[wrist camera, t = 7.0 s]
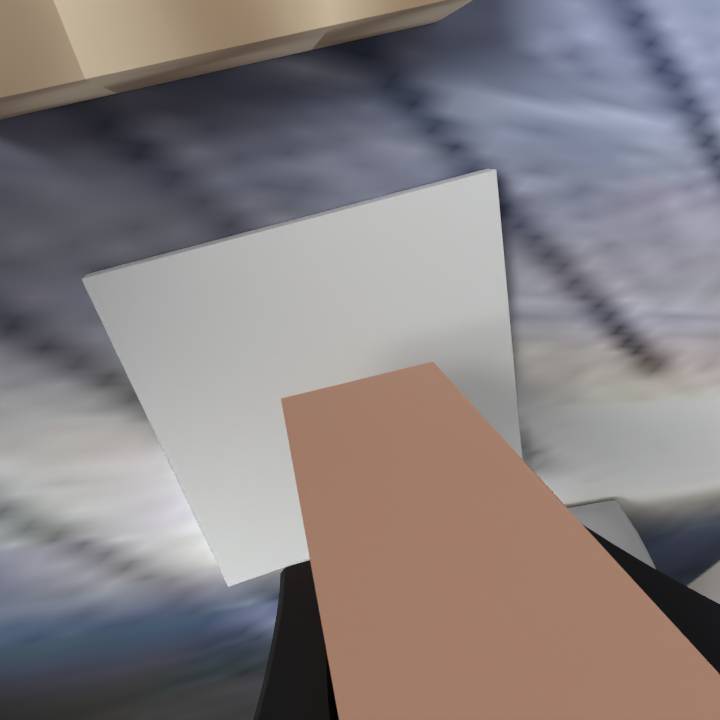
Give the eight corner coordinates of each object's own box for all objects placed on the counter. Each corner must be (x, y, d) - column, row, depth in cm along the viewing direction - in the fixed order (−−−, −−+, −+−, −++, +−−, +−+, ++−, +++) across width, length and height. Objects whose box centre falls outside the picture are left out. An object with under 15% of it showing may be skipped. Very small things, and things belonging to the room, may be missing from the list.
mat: (228, 574, 19) (228, 586, 18) (87, 273, 14) (81, 279, 13) (517, 475, 20) (524, 484, 20) (487, 168, 15) (496, 169, 15)
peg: (311, 521, 14) (413, 1023, 6) (280, 398, 12) (365, 868, 4) (444, 483, 15) (702, 897, 7) (432, 361, 13) (757, 716, 5)
